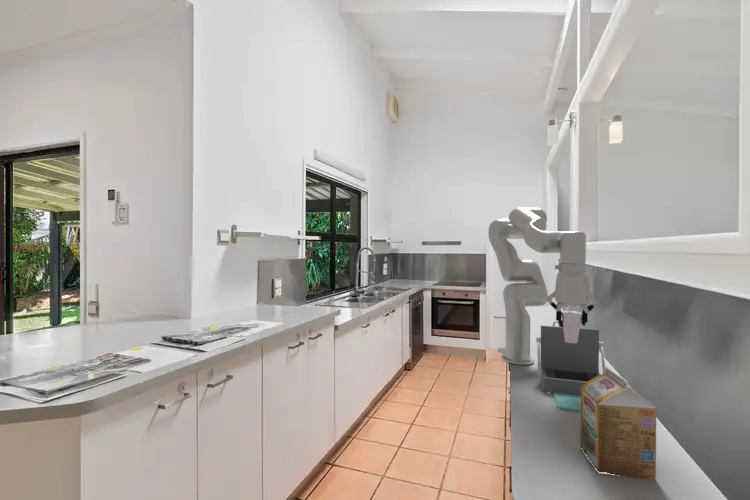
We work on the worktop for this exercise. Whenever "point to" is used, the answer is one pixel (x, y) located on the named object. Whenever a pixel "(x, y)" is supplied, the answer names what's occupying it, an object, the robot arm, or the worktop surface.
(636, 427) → the milk carton
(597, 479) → the worktop surface
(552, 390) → the case
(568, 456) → the worktop surface
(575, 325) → the smoothie
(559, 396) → the mat
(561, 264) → the robot arm
